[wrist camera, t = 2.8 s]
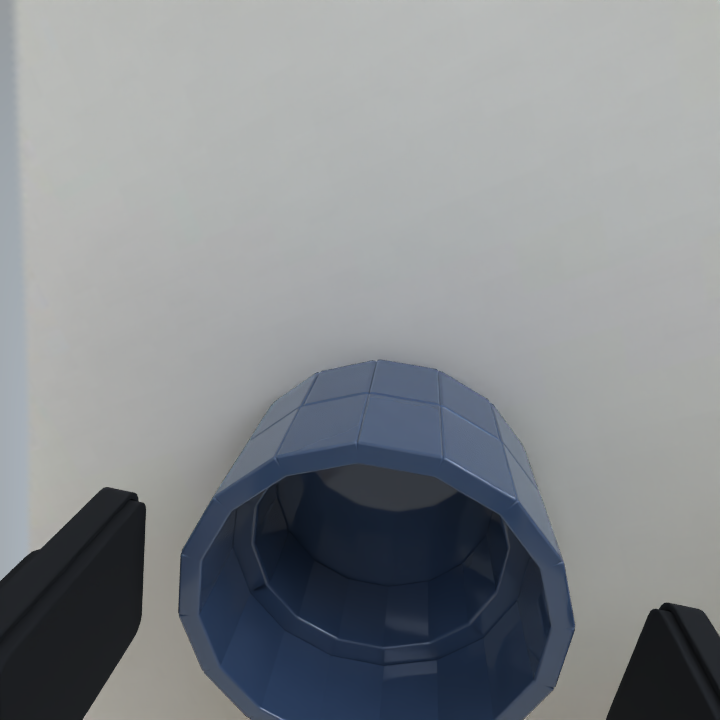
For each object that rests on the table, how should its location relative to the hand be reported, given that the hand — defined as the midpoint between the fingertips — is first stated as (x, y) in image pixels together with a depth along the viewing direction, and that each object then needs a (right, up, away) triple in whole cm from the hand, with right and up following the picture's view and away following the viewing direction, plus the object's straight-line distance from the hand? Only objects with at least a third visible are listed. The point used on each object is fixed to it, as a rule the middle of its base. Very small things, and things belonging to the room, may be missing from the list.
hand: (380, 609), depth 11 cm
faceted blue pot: (0, +1, +4) cm, 4 cm away
